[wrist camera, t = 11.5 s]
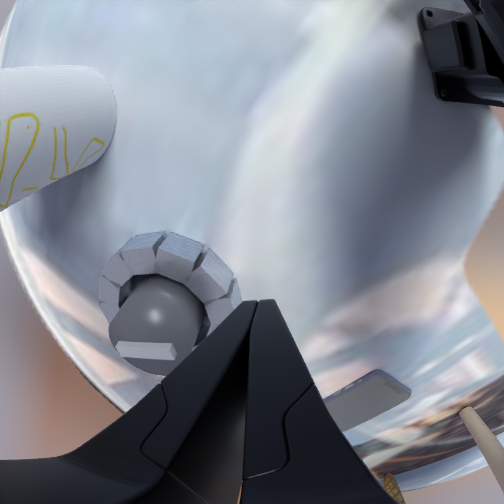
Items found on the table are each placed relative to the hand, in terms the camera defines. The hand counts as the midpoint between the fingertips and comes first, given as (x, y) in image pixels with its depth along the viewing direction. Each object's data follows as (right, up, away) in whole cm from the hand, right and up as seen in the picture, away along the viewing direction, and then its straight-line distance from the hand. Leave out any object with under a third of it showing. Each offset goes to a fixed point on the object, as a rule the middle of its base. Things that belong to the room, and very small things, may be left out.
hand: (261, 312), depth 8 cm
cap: (-7, -2, +16) cm, 18 cm away
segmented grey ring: (-7, -2, +16) cm, 18 cm away
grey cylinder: (-13, +12, +10) cm, 21 cm away
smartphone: (+10, -16, +22) cm, 29 cm away
